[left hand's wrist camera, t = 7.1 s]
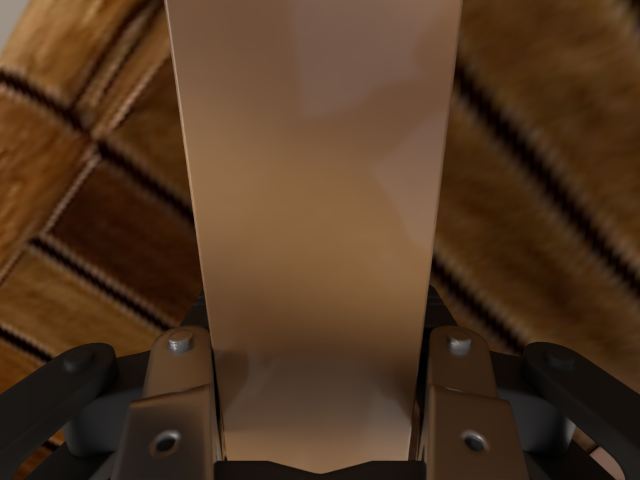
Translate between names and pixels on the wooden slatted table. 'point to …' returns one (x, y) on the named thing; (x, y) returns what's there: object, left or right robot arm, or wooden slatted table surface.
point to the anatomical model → (608, 463)
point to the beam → (315, 212)
